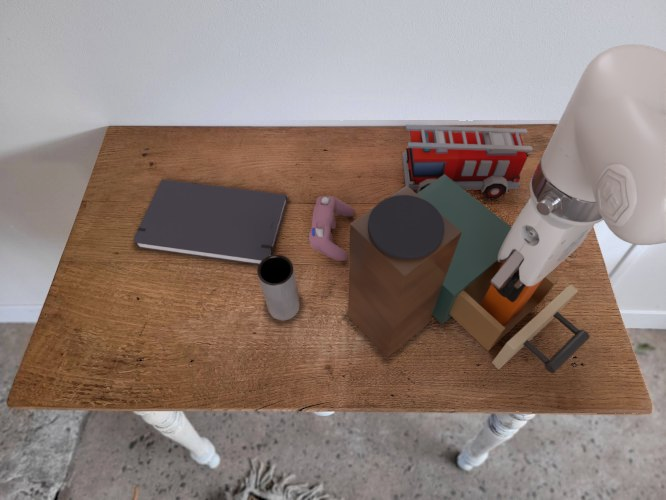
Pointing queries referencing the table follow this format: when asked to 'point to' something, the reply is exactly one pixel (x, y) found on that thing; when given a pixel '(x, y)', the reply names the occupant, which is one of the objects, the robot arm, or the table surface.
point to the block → (506, 302)
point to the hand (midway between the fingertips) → (517, 281)
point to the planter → (279, 286)
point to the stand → (394, 285)
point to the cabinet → (464, 239)
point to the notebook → (212, 221)
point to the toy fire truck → (465, 157)
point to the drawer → (516, 320)
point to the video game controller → (328, 226)
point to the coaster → (406, 227)
